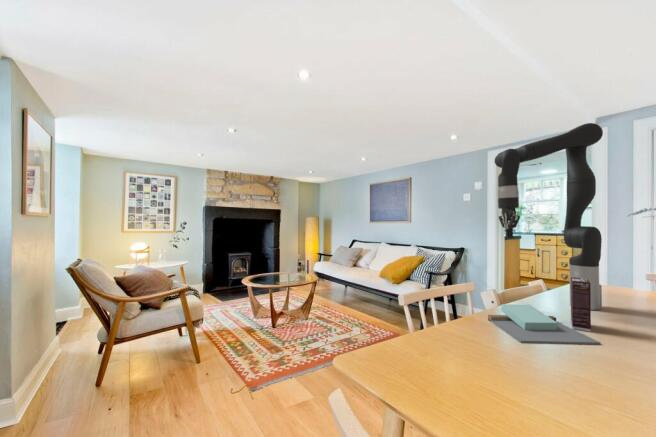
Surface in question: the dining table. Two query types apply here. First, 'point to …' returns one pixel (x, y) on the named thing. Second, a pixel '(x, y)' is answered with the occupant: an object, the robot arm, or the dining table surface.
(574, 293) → the supplement box
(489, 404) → the dining table surface
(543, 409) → the dining table surface
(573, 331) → the grey board with ledge
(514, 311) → the tile
